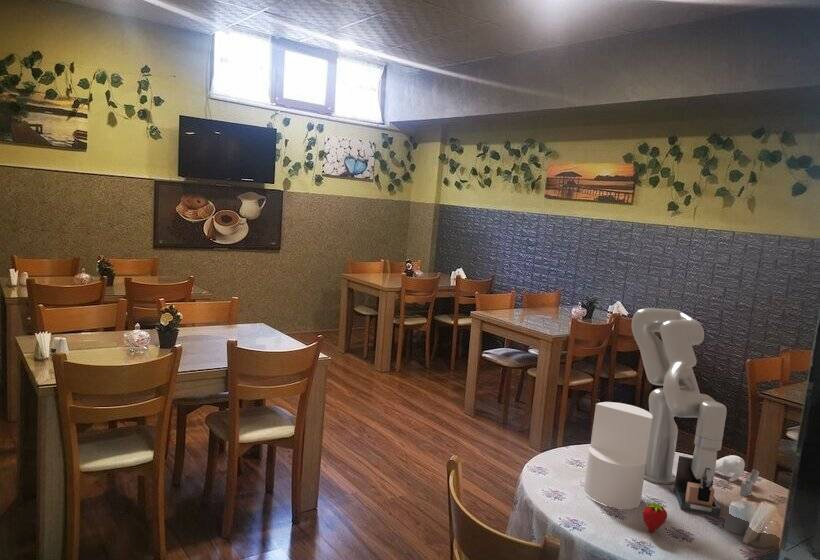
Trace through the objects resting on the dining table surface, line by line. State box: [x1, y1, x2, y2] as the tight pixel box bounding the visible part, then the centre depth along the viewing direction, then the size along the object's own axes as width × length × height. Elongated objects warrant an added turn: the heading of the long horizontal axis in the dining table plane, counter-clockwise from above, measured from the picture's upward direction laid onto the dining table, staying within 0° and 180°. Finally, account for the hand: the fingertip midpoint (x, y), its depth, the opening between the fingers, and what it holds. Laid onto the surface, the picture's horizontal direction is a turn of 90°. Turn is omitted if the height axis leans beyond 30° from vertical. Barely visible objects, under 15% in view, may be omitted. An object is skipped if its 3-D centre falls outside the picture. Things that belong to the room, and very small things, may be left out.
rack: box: [673, 455, 722, 518], centre depth 193 cm, size 11×14×12 cm
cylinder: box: [583, 401, 653, 510], centre depth 192 cm, size 17×17×28 cm
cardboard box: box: [685, 482, 715, 506], centre depth 190 cm, size 7×4×6 cm, turn 77°
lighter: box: [739, 469, 760, 497], centre depth 204 cm, size 7×2×8 cm, turn 122°
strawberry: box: [641, 499, 668, 533], centre depth 172 cm, size 6×8×10 cm
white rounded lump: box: [715, 454, 746, 482], centre depth 216 cm, size 6×8×12 cm
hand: (699, 493), depth 190 cm, fingers open, 9 cm apart
